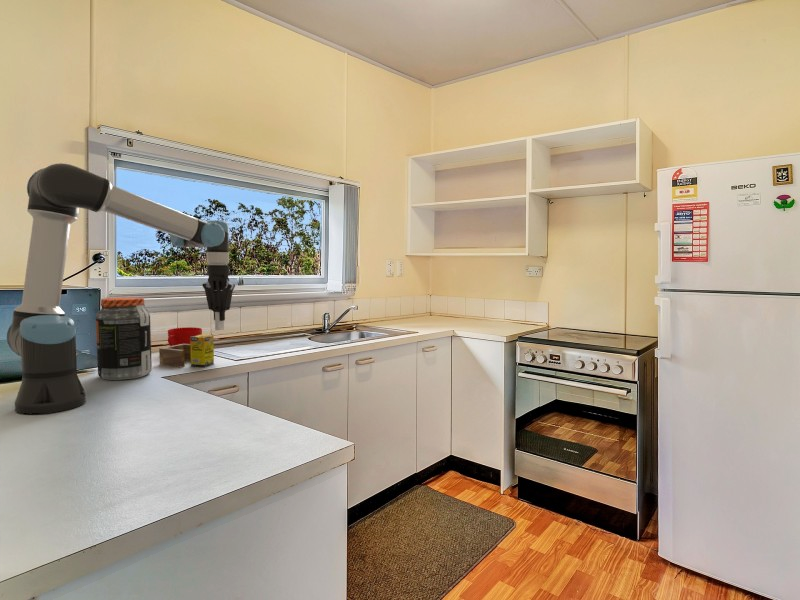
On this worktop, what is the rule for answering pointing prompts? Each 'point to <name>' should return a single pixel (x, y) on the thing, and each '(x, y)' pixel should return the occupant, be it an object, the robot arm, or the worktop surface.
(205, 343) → the supplement box
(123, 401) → the worktop surface
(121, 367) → the supplement tub
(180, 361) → the brown rectangular block
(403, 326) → the worktop surface
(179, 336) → the red ribbed container
